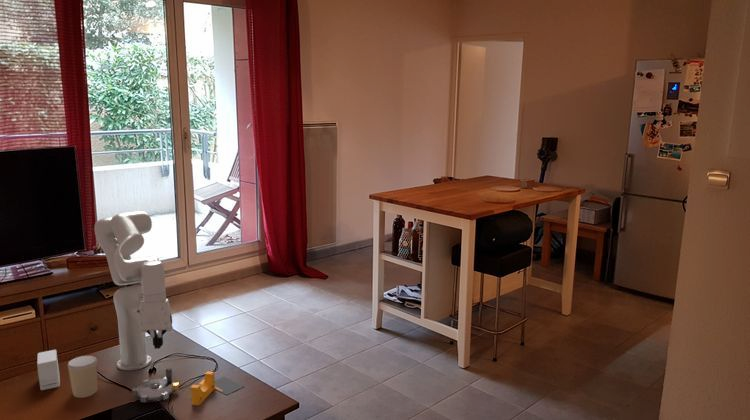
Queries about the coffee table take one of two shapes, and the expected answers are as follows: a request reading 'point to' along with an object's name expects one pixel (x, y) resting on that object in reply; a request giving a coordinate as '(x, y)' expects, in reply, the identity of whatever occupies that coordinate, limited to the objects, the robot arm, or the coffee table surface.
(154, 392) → the sprocket
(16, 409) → the coffee table surface
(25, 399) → the coffee table surface
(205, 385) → the pipe clamp
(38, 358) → the skincare box
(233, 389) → the mat
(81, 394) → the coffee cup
